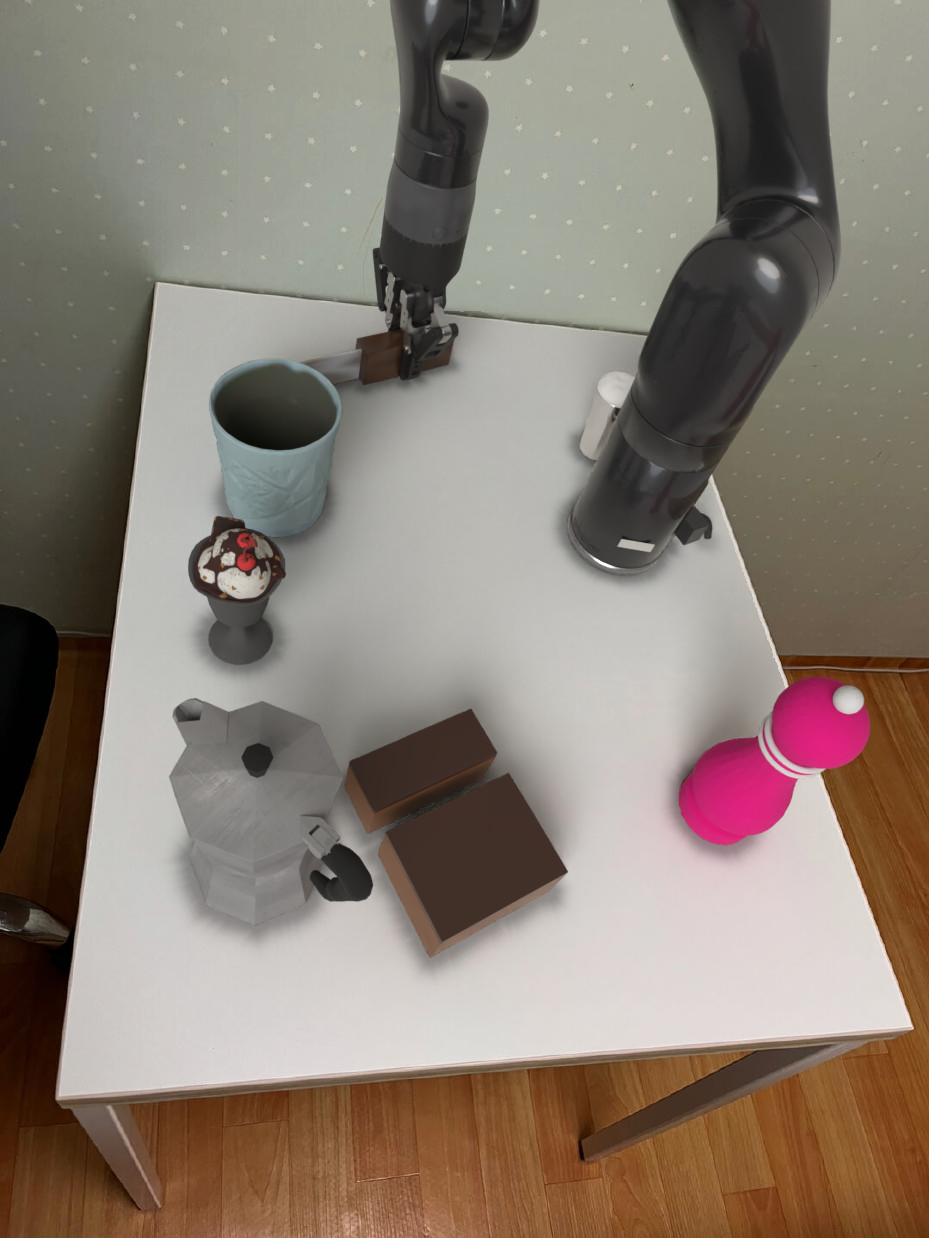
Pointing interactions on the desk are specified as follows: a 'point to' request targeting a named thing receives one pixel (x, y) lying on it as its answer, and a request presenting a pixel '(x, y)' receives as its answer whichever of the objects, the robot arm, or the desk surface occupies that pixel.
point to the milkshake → (604, 411)
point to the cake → (469, 863)
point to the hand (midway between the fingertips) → (401, 366)
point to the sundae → (237, 587)
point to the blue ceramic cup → (275, 442)
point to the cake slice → (418, 770)
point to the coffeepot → (261, 810)
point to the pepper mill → (774, 760)
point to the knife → (372, 359)
